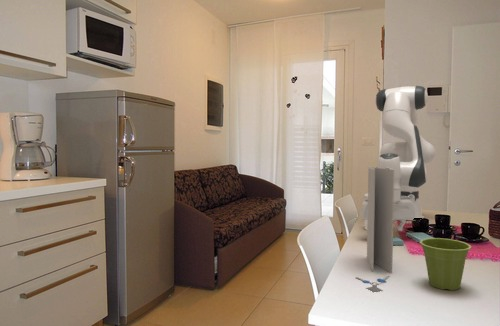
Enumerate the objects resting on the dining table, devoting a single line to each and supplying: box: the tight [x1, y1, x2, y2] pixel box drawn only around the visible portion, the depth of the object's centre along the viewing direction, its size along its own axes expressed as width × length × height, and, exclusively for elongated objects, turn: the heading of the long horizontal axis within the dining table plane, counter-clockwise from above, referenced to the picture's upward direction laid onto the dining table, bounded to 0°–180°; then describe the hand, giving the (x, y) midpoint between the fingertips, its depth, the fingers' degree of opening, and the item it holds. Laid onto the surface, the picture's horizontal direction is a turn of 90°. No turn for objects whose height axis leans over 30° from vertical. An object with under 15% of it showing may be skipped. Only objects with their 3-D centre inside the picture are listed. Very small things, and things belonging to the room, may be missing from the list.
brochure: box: [366, 166, 394, 274], centre depth 113 cm, size 14×6×30 cm, turn 168°
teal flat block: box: [405, 232, 434, 244], centre depth 143 cm, size 14×7×2 cm, turn 1°
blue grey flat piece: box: [355, 275, 391, 294], centre depth 99 cm, size 14×8×1 cm, turn 151°
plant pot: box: [419, 237, 472, 291], centre depth 96 cm, size 12×12×11 cm
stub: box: [393, 225, 405, 246], centre depth 142 cm, size 14×6×6 cm, turn 1°
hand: (387, 230), depth 143 cm, fingers open, 8 cm apart
